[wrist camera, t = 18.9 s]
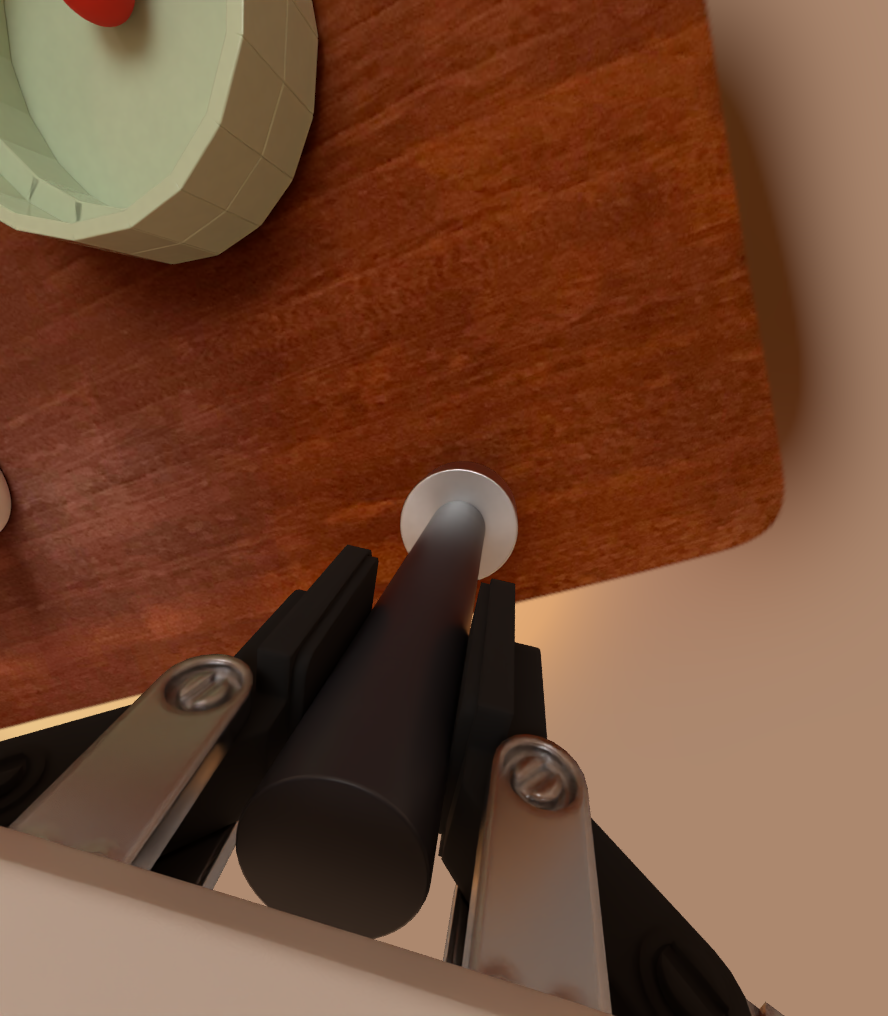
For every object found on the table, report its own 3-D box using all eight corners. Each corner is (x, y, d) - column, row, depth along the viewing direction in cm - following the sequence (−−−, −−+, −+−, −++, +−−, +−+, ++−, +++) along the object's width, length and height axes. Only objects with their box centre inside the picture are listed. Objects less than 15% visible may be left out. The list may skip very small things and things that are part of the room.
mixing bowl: (340, -189, 17) (249, -461, 11) (309, 290, 22) (240, 272, 17) (-49, -226, 18) (-304, -484, 12) (17, 235, 24) (-138, 201, 18)
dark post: (516, 459, 21) (560, 674, 4) (516, 564, 23) (553, 1055, 6) (408, 462, 22) (86, 656, 5) (414, 563, 23) (167, 997, 6)
